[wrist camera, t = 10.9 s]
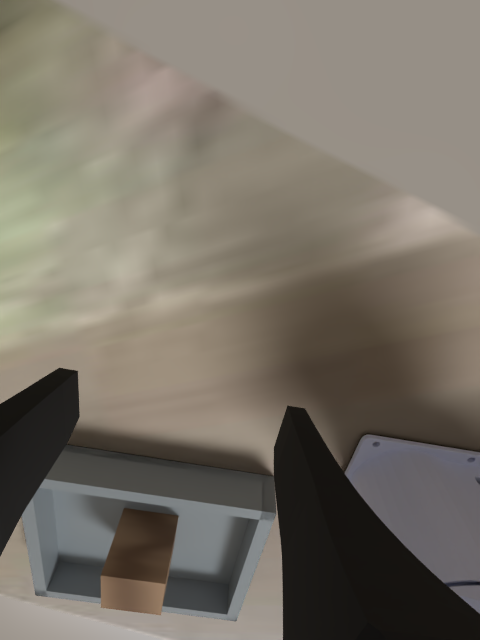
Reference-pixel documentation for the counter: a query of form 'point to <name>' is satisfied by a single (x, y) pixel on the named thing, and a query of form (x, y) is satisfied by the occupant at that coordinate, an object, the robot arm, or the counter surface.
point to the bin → (155, 496)
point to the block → (139, 562)
